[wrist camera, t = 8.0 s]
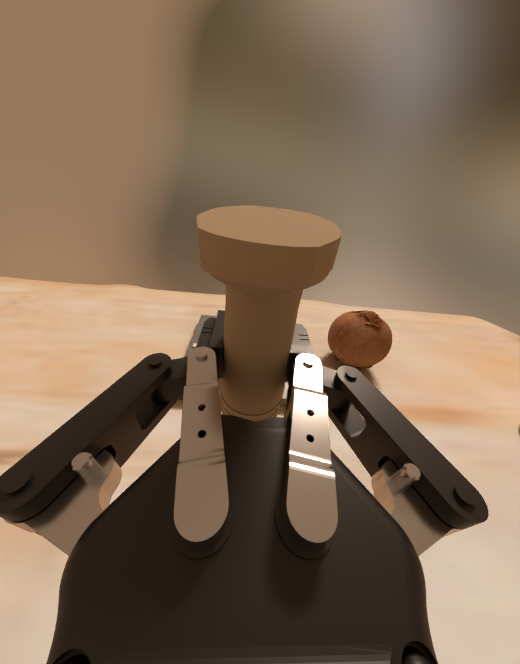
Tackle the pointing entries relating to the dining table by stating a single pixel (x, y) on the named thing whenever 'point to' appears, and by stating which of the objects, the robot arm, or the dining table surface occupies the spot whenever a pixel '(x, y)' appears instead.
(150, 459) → the dining table surface
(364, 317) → the onion
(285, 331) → the handle
